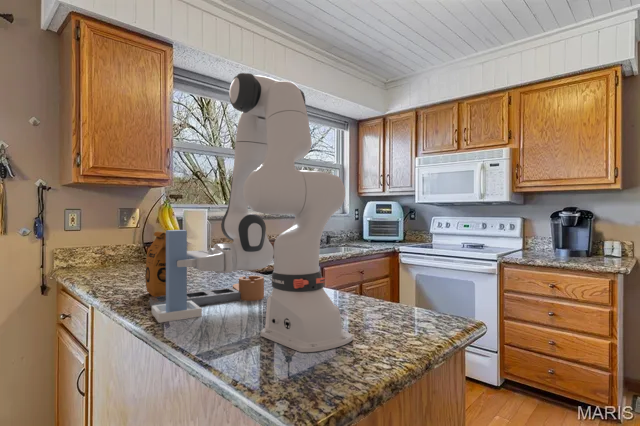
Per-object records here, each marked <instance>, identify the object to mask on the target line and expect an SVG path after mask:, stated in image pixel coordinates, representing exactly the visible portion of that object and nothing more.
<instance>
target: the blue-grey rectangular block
mask: <svg viewBox="0 0 640 426" xmlns="http://www.w3.org/2000/svg"><path fill="white" fill-rule="evenodd" d="M165 233H166V313H167V312H174V311H181V310H187V293H188V290H187V289H188V285H187V284H188V274H187V273H188V267H177V266H176V261H177V260H187V251H188V247H187V246H188V241H187V240H188V239H187V238H188V236H187V235H188V231H187V230H186V229H170V230H169V229H168V230H166V229H165Z"/></svg>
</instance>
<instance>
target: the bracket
mask: <svg viewBox="0 0 640 426" xmlns="http://www.w3.org/2000/svg"><path fill="white" fill-rule="evenodd" d="M232 288H233V289H235V290H237V291H239V292H241V300H240V301H246V302H250V301H252V302H253V301H254V302H255V301H260V300H263V299H264V298H265V277H264V276H263V275H248V278H247V276H246V275H244V276H240V277H238V283H234V284H233V285H232Z"/></svg>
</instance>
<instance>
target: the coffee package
mask: <svg viewBox="0 0 640 426" xmlns="http://www.w3.org/2000/svg"><path fill="white" fill-rule="evenodd" d="M153 236H154V237H155V239H154V240H153V241H152V243H151V245H149V247H148V250H147V252H146V258H145V259H146V261H145V275H144V278H145V286H146V292H147V293H148V294H149V295H150V296H151V297H155V296H163V295H166V231H165V232H163V231H158V230H157V231H155V232H154V234H153Z"/></svg>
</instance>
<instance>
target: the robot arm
mask: <svg viewBox="0 0 640 426" xmlns="http://www.w3.org/2000/svg"><path fill="white" fill-rule="evenodd" d="M229 101H230V104H231V105H232V107H233V108H234V109H235V110H237V111H239V112H241V113H240V116H239V120H238V123H237V126H236V127H237V129H236V135H235V147H234V161H233V170H232V175H231V176H232V177H231V183H230V191H229V198H228V204H227V209H226V211H225V213H224V214H223V217H222V219H221V223H220V225H221V227H220V228H221V231H222V234H223V236H224V237H226V239H228V240H230V241H233V242H230V243H229V242H226V243H215V244H214V245H213V247H212V248H211V247H210V248H209V249H208V250H187V260H177V261H176V266H177V267H187V268H193V269H195V270H197V271H201V272H215V274H230V273H235V272H238V271H244V272H247V271H255V270H260V269H261V270H262V269H263V268H264V269H265V268H267V267H268V266H270V265H271V263H272V261H273V270H272V272H271V286H272V288H273V289H272V291H271V294H269V296H268V298H267V299H266V309H265V310H266V313H265V324H264V325H265V327H264V328H263V329H260V334H259V335H260V336H261V337H262V338H266V339H268V340H269V341H272V342H274V343H277V344H280V345H282V346H284V347H287V348H290V349H292V350H295V351H297V352H299V353H313V352H314V353H315V352H321V351H322V352H323V351H327V350H330V349H335V348H338V347H343V346H344V345H347V344H349V343H351V342H352V341H353V339H354V338H353V335H352V334H351V333H350V332H348V331H347V330H345V329H344V328H343V327H342V315H341V312H340V307H339V306H338V305H335V304H334V302H333V300H332V299H331V298H330V297H329V295H328V293H327V292H326V291H325V289H324V283H326V281H324V280H325V279H326V277H323V276H322V273H321V271H320V249H321V239H322V235H323V232H324V229H325V227H326V226H327V223H328V222H329V220H330V219H331V217H332V216H333V215H334V214H335V213H336V212H337V211H339V210H340V208H342V206H343V204H344V201H345V198H346V188H345V185H344V182H343V181H342V179H341V178H340V176H338V175H336V174H333V173H329V172H326V171H321V170H306V169H302V170H301V169H297V168H296V166H295V162H297V161H300V160H302V159H304V158H305V157H306V156H307V155H308V153H309V152H310V151H311V149H312V135H311V129H310V123H309V122H310V121H309V116H308V111H307V107H306V96H305V93H304V91H303V90H302V89H301V88H299V86H298V85H297V84H295V83H294V82H292V81H290V80H281V81H280V80H278V79H274V78H272V77H267V76H264V75H256V74H253V73H249V72H240V73H237V74H236V75H235V76H234V77H233V78H232V80H231V84H230V87H229ZM248 208H250V210H251V211H252V212H257V213H261V214H266V215H270V216H271V215H272V216H273V215H275V216H276V215H279V216H281V215H282V216H283V215H285V216H287V215H289V216H291V215H295V216H294V221H293V223H292V225H291V226H290V227H289V228H288V229H286V230H284V231H283V232H281V233H279V235H278V236H276V238H275V239H276V240H275V242H274V249H273V246H272V245H271V243H270V242H269V240H268V239H269V238H268V235H267V225H266V222H265V220H264V219H263V218H262V217H261V216H260V215H257V214H255V213H251V212H249V209H248ZM273 256H274V257H273Z"/></svg>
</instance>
